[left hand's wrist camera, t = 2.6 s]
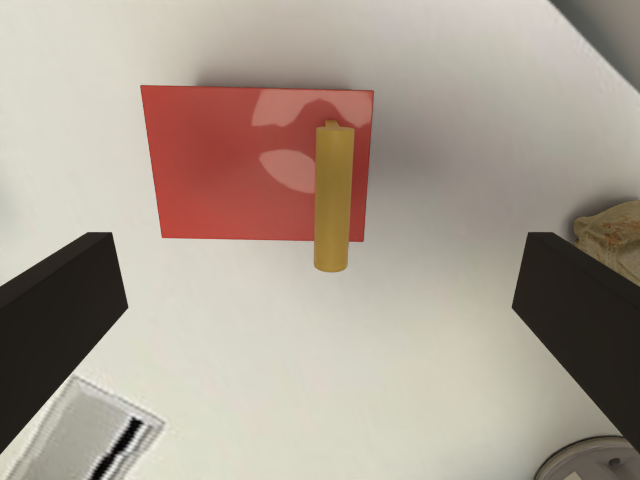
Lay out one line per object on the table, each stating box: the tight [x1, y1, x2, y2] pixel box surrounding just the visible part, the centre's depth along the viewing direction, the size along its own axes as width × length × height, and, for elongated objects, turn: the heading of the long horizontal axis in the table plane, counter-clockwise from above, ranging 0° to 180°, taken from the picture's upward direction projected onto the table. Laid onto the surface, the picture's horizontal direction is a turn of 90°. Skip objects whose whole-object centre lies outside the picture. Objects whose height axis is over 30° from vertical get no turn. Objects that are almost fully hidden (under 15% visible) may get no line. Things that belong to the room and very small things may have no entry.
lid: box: [140, 85, 374, 272], centre depth 20 cm, size 13×9×9 cm
